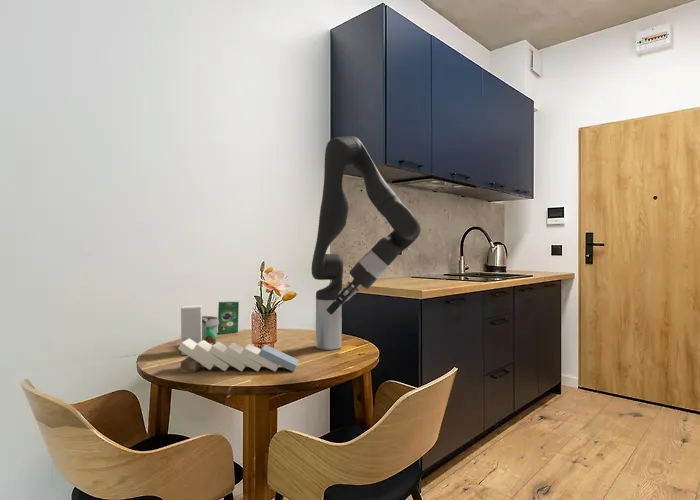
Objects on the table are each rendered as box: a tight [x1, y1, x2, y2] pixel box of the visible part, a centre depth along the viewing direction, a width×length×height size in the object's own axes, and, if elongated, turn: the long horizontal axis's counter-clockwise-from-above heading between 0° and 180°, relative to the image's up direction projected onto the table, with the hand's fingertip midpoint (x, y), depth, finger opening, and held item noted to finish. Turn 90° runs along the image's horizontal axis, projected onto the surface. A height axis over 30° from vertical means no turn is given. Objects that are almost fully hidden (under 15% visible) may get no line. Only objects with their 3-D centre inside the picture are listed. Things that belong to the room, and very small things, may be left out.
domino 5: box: [241, 343, 280, 373], centre depth 126 cm, size 2×6×11 cm
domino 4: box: [224, 342, 263, 372], centre depth 126 cm, size 2×6×11 cm
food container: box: [202, 315, 219, 346], centre depth 157 cm, size 12×6×10 cm, turn 34°
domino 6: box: [259, 343, 300, 373], centre depth 126 cm, size 2×6×11 cm
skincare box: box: [180, 304, 203, 356], centre depth 146 cm, size 8×7×16 cm
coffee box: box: [217, 300, 240, 335], centre depth 180 cm, size 8×3×13 cm, turn 124°
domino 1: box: [177, 338, 216, 370], centre depth 126 cm, size 2×6×11 cm
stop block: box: [180, 356, 204, 373], centre depth 126 cm, size 4×8×3 cm, turn 0°
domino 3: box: [209, 341, 248, 372], centre depth 126 cm, size 2×6×11 cm
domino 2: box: [193, 340, 232, 372], centre depth 126 cm, size 2×6×11 cm
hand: (329, 312), depth 128 cm, fingers closed
